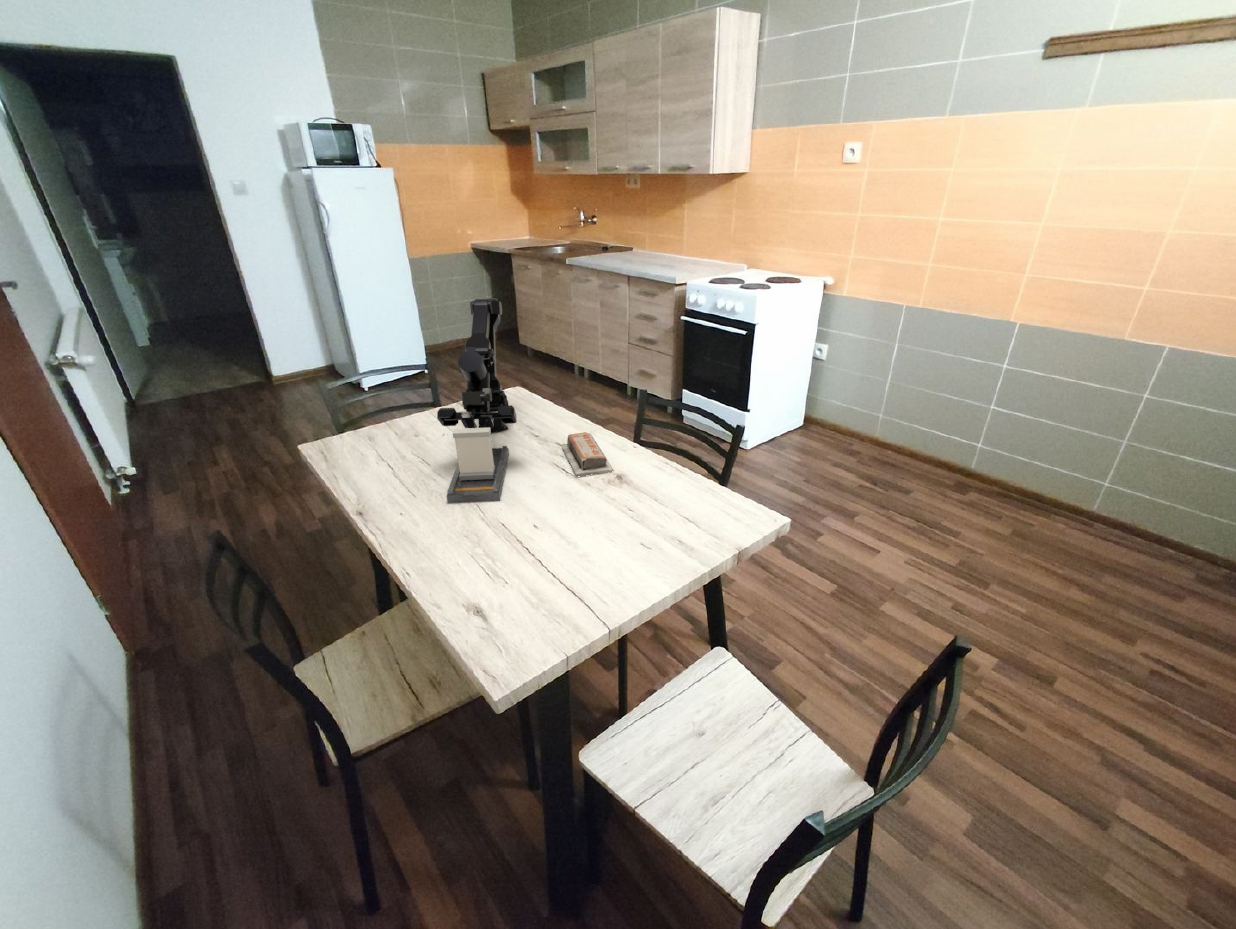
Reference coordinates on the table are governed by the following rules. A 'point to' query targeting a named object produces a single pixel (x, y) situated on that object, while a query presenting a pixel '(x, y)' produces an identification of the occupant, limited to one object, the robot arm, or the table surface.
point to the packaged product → (585, 455)
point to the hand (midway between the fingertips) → (477, 448)
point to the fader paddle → (474, 453)
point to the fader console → (480, 482)
